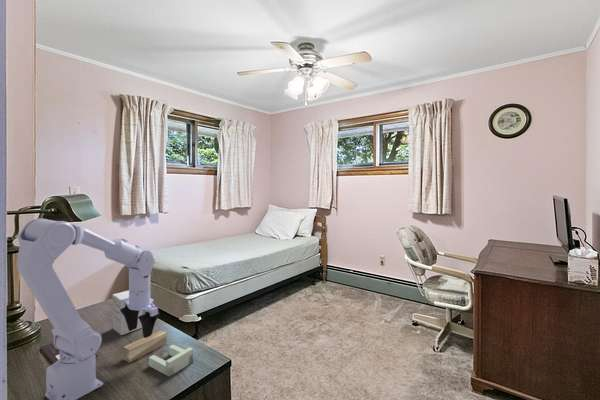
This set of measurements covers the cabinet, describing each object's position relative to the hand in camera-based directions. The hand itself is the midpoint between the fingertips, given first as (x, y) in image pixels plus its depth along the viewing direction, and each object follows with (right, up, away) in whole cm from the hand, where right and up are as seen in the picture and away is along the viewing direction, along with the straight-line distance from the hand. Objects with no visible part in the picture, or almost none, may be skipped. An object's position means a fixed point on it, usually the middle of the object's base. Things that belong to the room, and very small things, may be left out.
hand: (140, 332), depth 90 cm
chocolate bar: (-22, -7, 0) cm, 23 cm away
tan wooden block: (+1, -7, +2) cm, 7 cm away
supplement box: (-13, -6, +16) cm, 21 cm away
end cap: (+11, -7, -4) cm, 14 cm away
